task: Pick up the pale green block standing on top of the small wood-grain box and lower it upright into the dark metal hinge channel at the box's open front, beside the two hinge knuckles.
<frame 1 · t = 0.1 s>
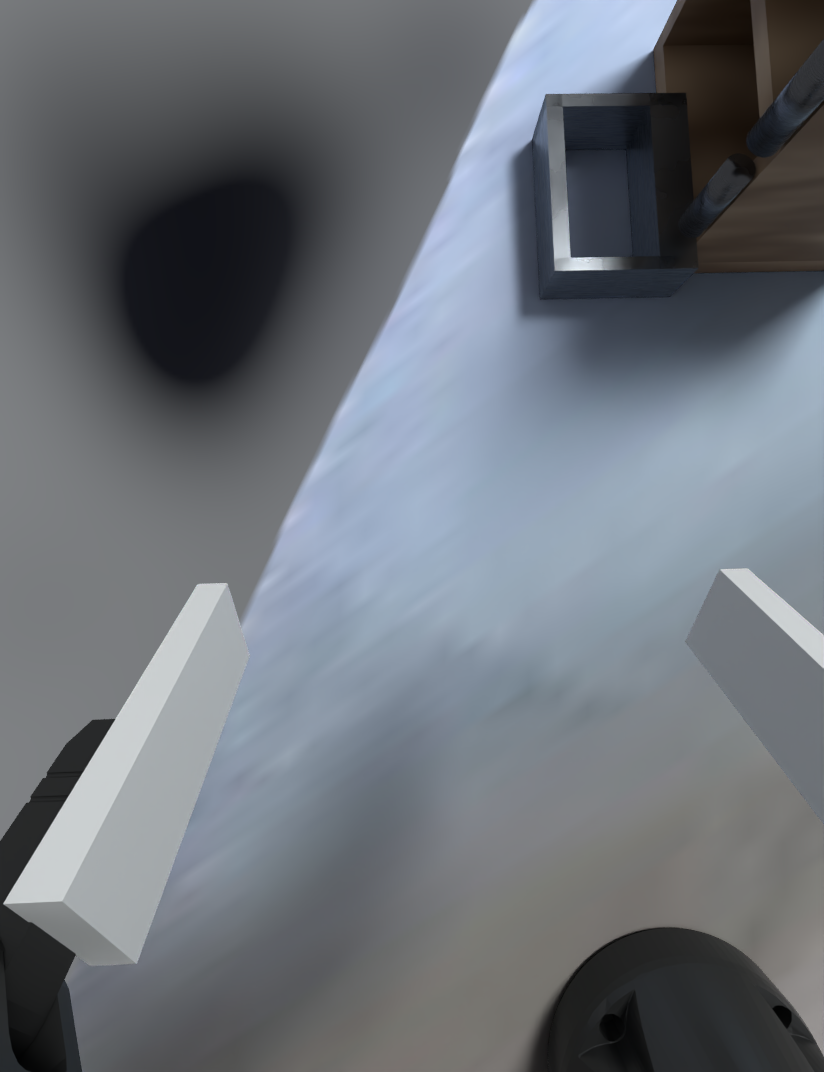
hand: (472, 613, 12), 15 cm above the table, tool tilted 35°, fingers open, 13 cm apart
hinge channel: (590, 217, 29), on the table
wood-grain box: (747, 158, 29), on the table
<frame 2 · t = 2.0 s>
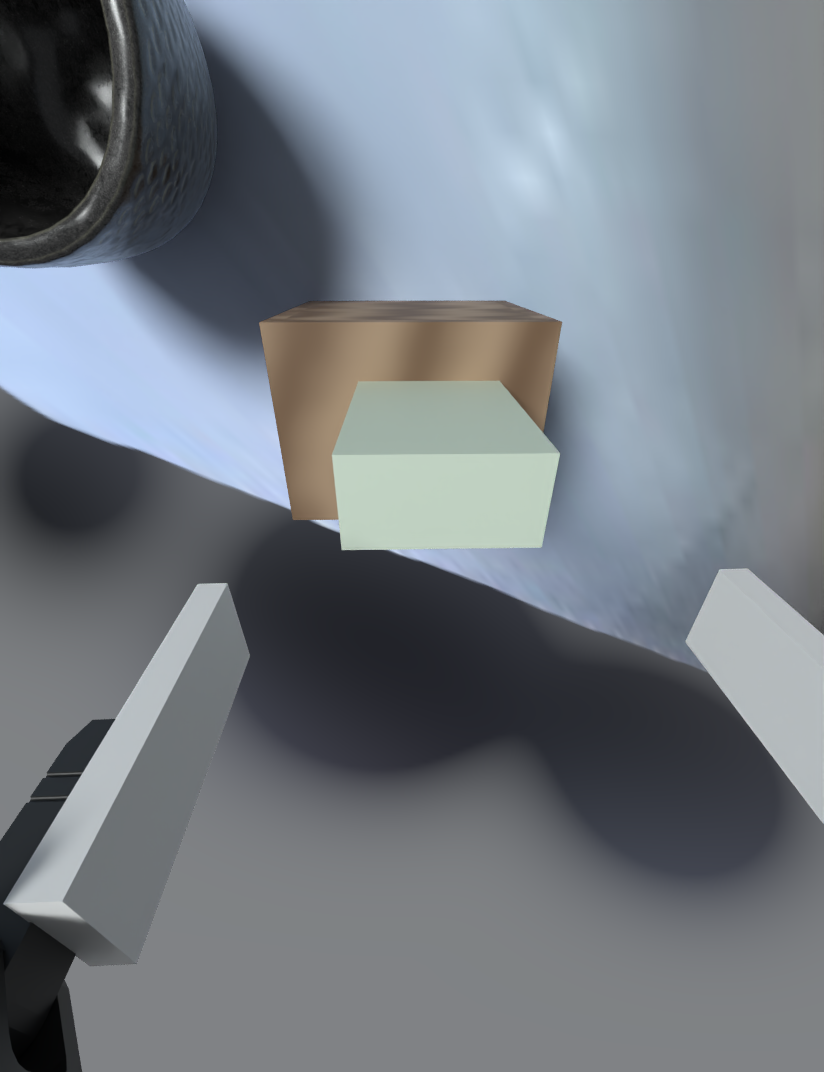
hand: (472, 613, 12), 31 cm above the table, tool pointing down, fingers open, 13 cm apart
pale green block: (428, 416, 25), point 15 cm above the table, touching wood-grain box
wood-grain box: (408, 376, 39), on the table
planter: (128, 117, 29), on the table
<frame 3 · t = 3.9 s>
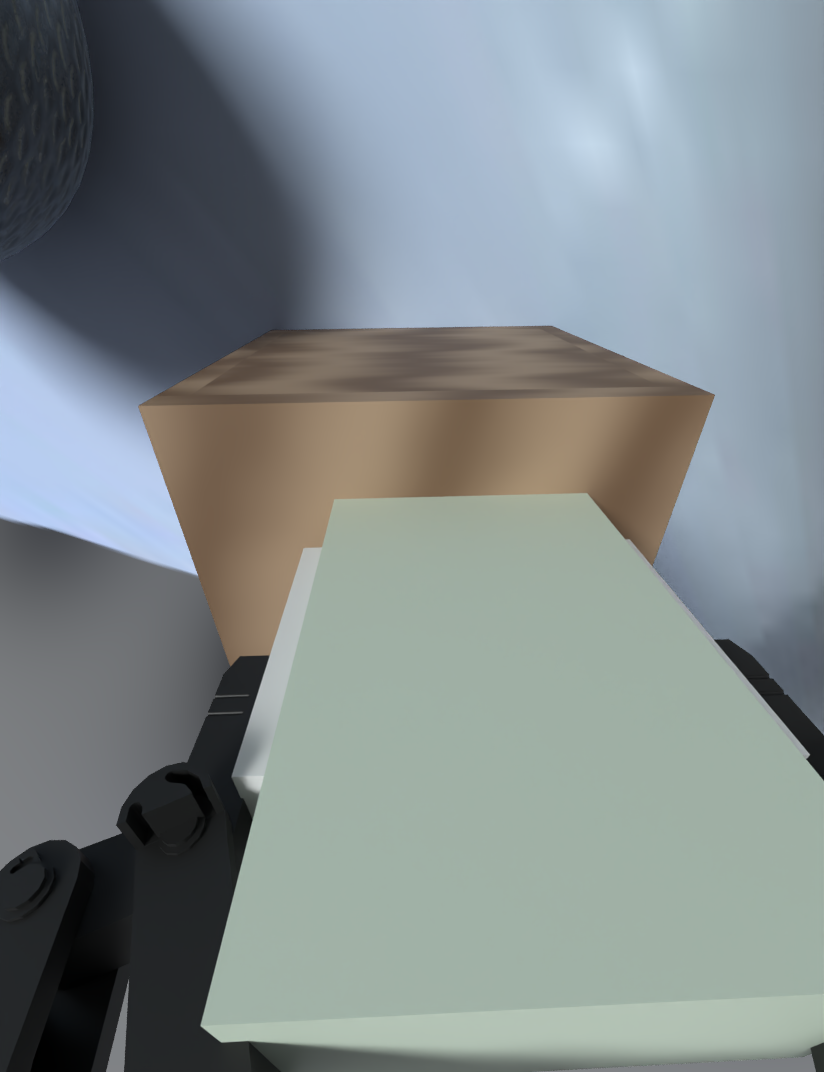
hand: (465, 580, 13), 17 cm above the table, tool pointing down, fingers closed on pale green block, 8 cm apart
pale green block: (458, 548, 15), point 15 cm above the table, touching wood-grain box, gripper
wood-grain box: (413, 430, 28), on the table
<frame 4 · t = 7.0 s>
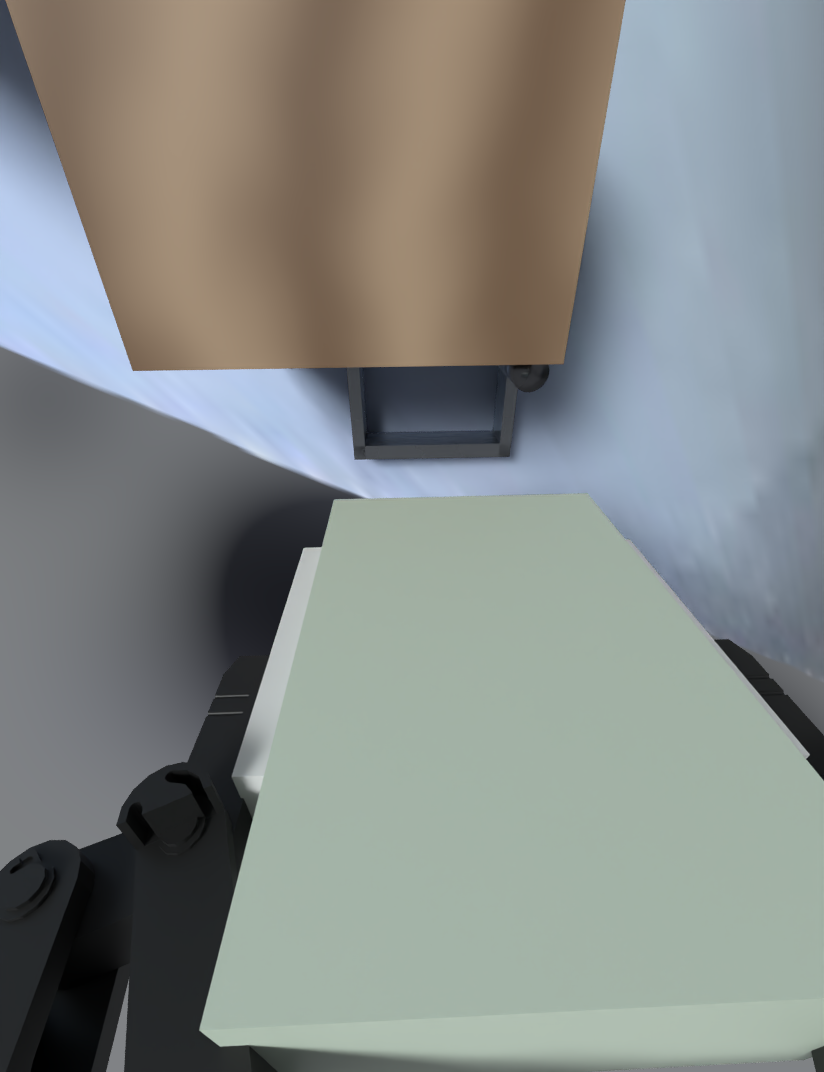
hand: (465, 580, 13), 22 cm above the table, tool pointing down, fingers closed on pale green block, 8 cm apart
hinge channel: (430, 395, 31), on the table
pale green block: (458, 548, 15), point 20 cm above the table, touching gripper
wood-grain box: (365, 207, 25), on the table
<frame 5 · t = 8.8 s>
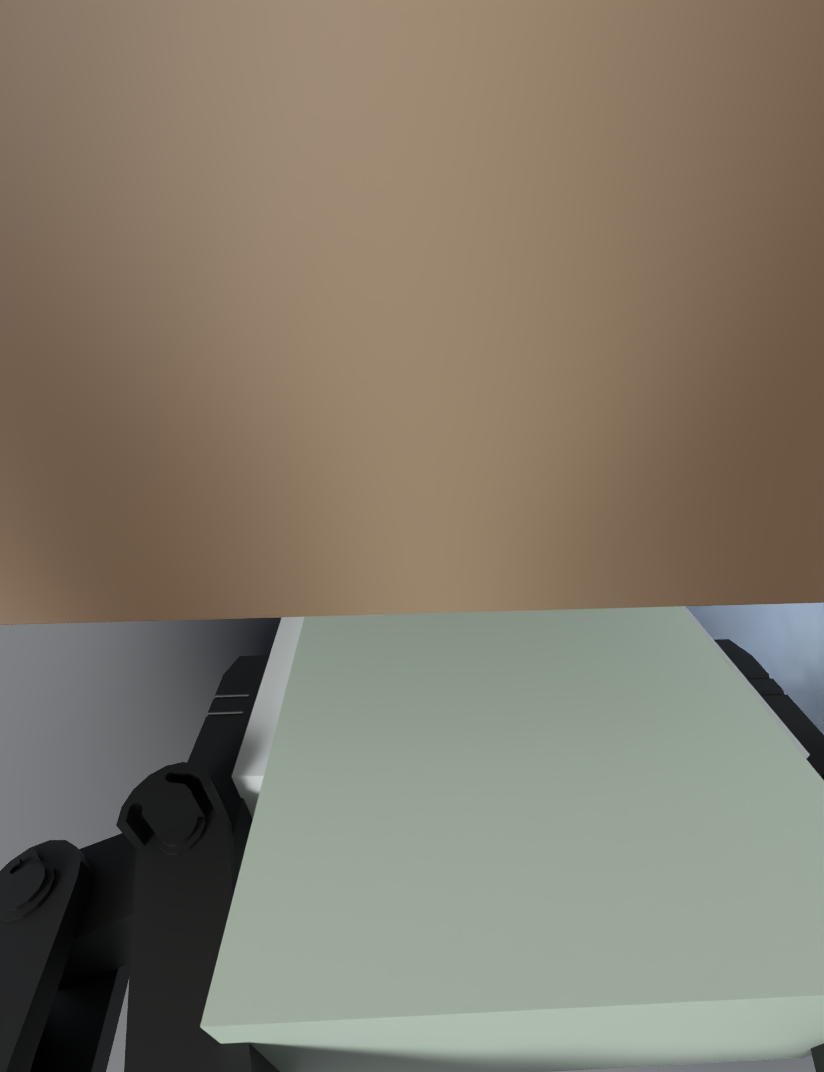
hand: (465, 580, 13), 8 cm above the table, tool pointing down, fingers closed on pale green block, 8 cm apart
pale green block: (458, 548, 15), point 7 cm above the table, touching gripper
wood-grain box: (332, 163, 14), on the table
when the fingers open (4 cm above the table, at t = 10.1 s): pale green block drops 2 cm, resting in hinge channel.
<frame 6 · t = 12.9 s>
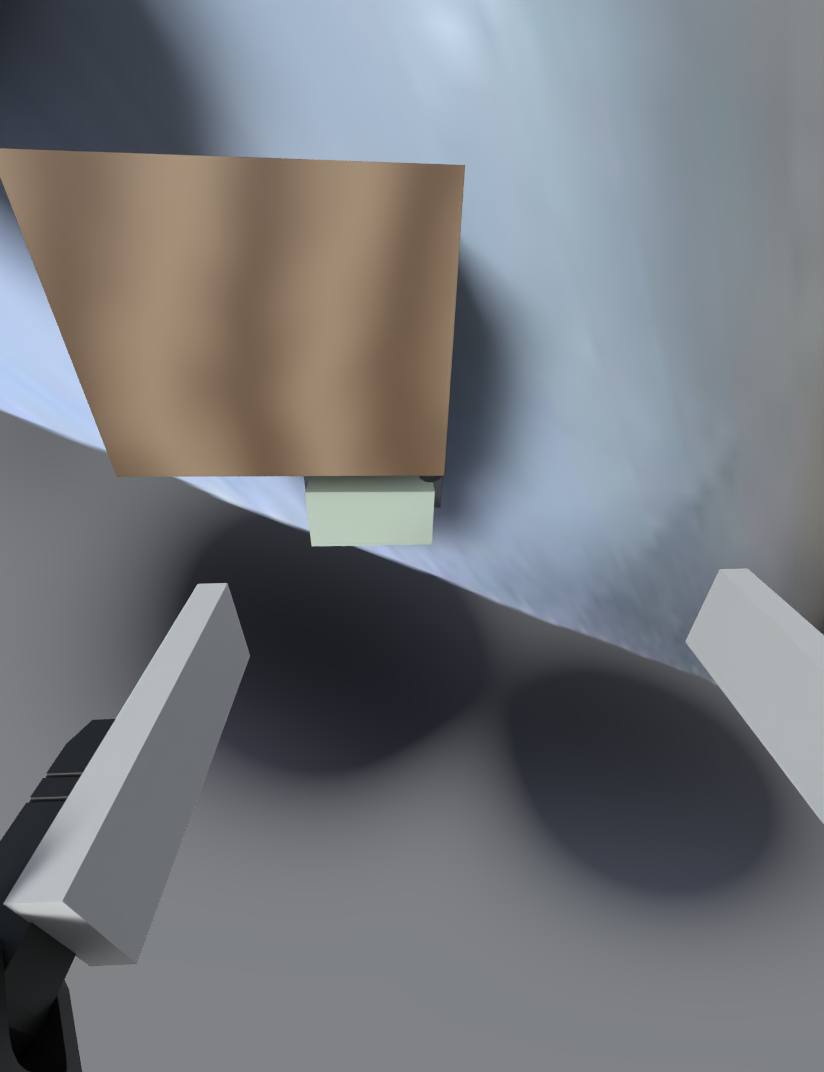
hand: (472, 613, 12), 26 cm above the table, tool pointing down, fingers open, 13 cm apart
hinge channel: (374, 453, 37), on the table
pale green block: (375, 453, 37), resting in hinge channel
wood-grain box: (313, 308, 31), on the table
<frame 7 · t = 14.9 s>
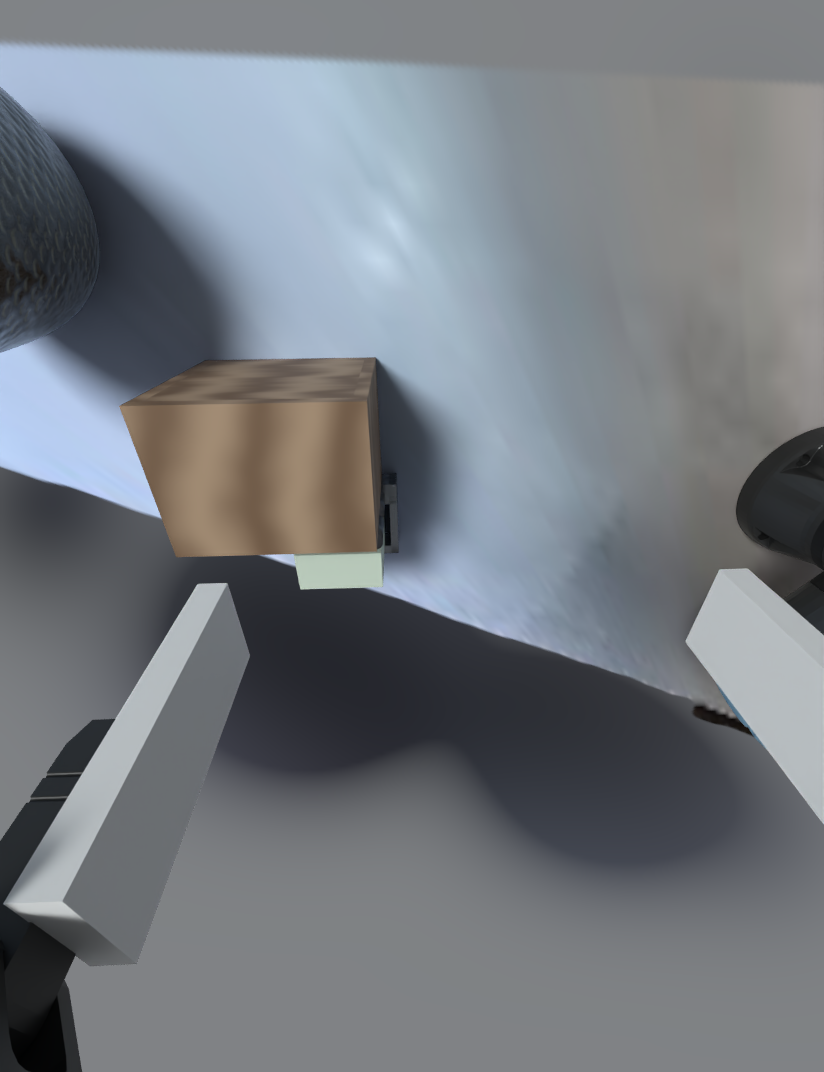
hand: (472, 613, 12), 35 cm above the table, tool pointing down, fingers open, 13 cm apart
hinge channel: (349, 514, 50), on the table
pale green block: (350, 513, 50), resting in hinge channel
wood-grain box: (300, 421, 44), on the table
planter: (30, 216, 34), on the table
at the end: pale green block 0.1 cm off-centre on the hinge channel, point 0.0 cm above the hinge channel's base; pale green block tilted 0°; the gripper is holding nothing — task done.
